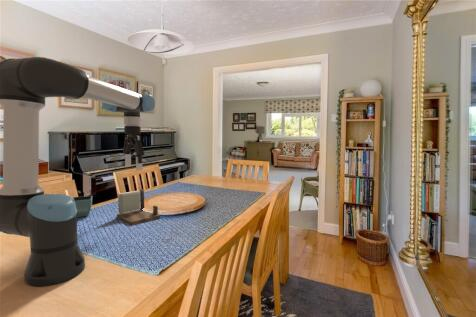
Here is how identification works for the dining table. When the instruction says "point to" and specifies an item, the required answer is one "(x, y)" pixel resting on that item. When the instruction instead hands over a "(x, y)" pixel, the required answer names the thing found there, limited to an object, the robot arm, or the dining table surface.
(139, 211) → the board
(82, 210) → the flower pot
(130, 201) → the gate
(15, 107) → the robot arm
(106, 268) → the dining table surface
